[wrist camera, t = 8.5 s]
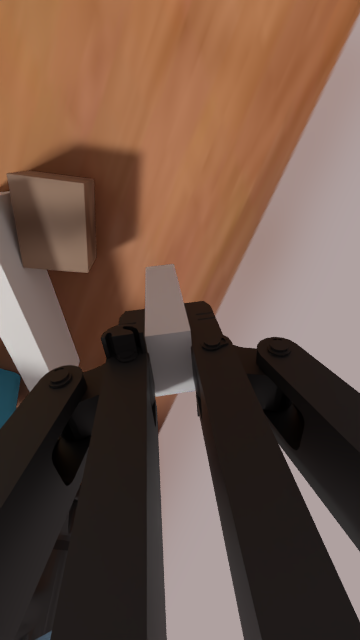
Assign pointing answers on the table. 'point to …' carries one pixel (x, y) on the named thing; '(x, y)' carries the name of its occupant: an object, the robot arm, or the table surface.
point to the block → (8, 394)
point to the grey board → (29, 309)
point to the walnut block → (54, 220)
